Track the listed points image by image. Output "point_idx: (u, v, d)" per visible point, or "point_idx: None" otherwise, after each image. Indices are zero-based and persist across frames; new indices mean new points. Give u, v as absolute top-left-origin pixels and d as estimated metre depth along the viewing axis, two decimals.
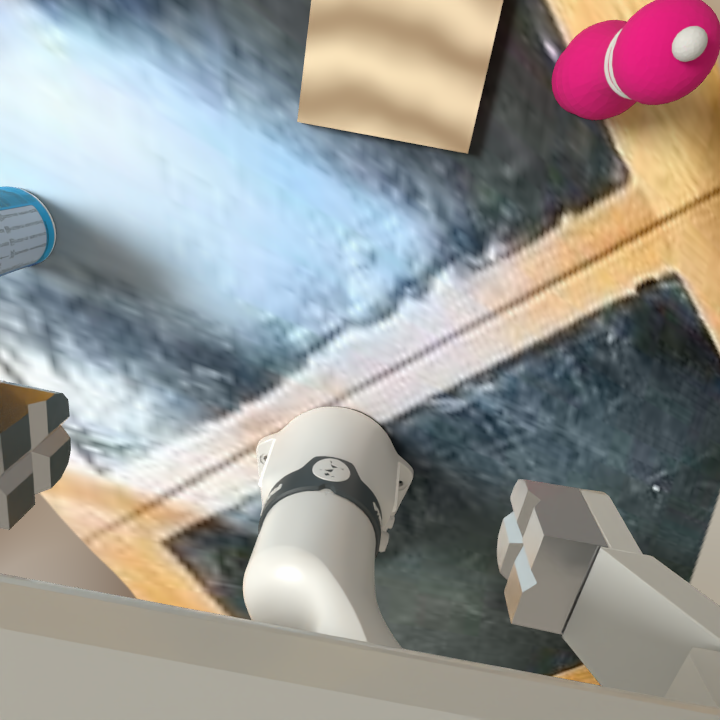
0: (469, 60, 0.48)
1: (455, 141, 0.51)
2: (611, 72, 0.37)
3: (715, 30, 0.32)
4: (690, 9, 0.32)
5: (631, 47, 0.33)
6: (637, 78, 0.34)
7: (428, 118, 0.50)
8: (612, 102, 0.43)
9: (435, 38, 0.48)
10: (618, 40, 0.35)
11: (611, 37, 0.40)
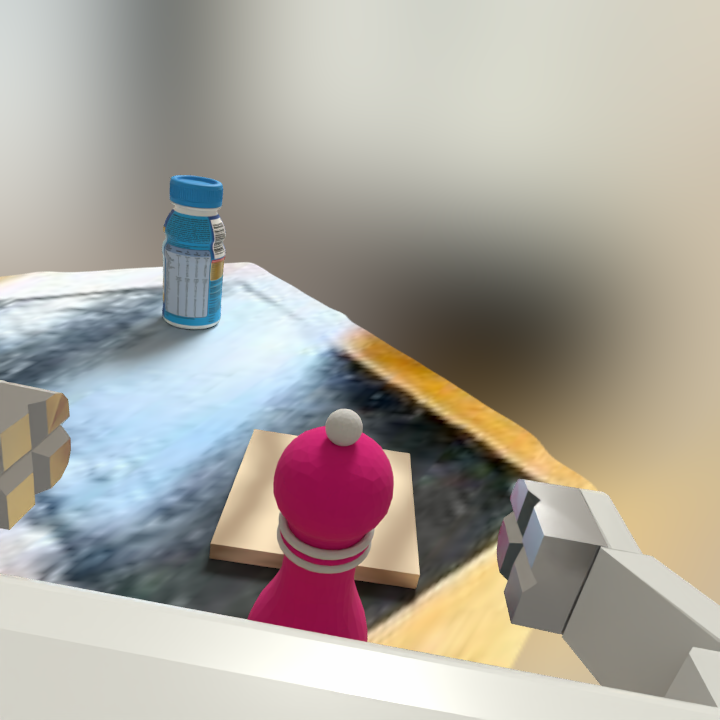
0: None
1: (225, 532, 0.43)
2: None
3: (362, 475, 0.25)
4: (379, 452, 0.27)
5: None
6: (304, 432, 0.28)
7: (252, 510, 0.45)
8: (269, 593, 0.31)
9: None
10: None
11: None
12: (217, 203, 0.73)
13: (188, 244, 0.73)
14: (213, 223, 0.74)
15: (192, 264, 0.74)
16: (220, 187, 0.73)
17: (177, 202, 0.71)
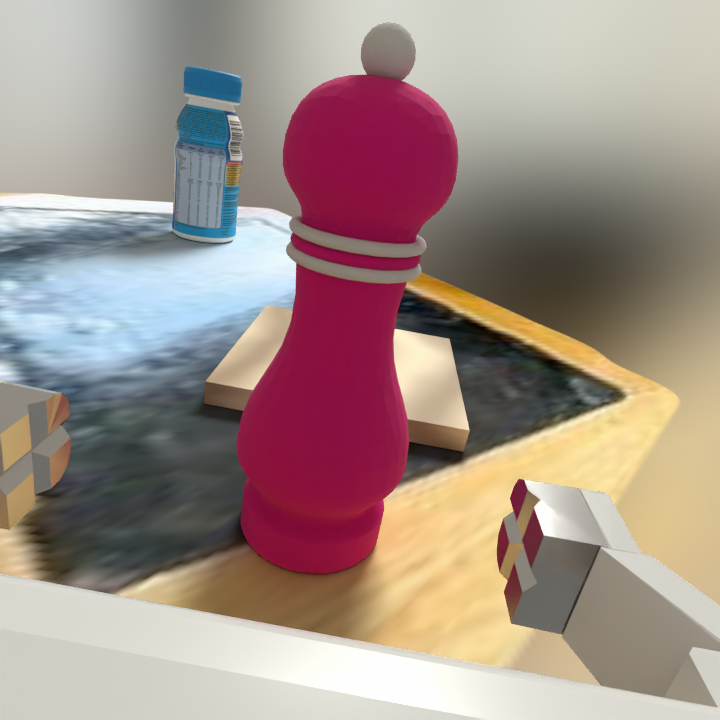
0: None
1: (225, 374, 0.34)
2: None
3: (416, 101, 0.17)
4: None
5: None
6: None
7: (259, 361, 0.37)
8: (274, 359, 0.22)
9: None
10: None
11: None
12: (234, 96, 0.66)
13: (202, 140, 0.66)
14: (229, 119, 0.67)
15: (206, 164, 0.67)
16: (239, 79, 0.66)
17: (191, 92, 0.65)
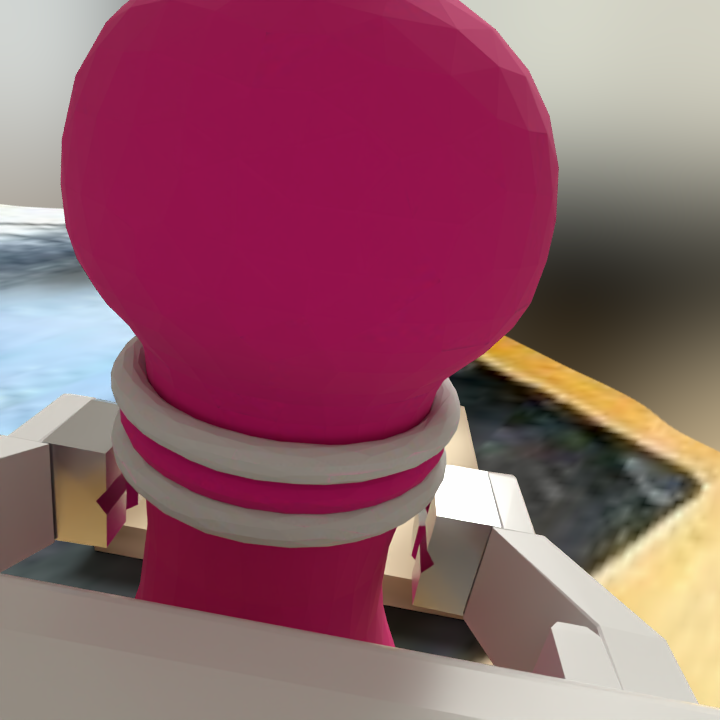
0: None
1: None
2: None
3: (448, 23, 0.05)
4: None
5: None
6: None
7: None
8: None
9: None
10: None
11: None
12: None
13: None
14: None
15: None
16: None
17: None
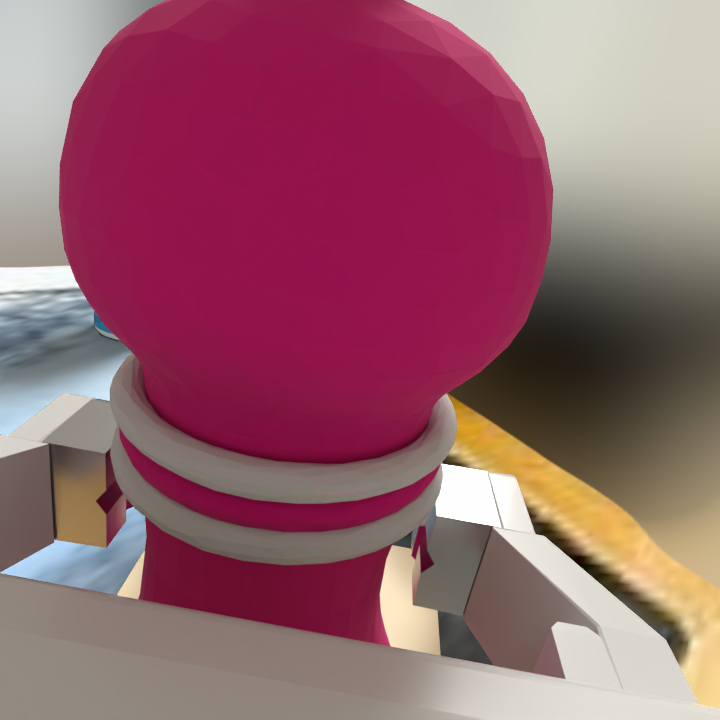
0: None
1: None
2: None
3: (442, 52, 0.05)
4: None
5: None
6: None
7: None
8: None
9: None
10: None
11: None
12: None
13: None
14: None
15: None
16: None
17: None
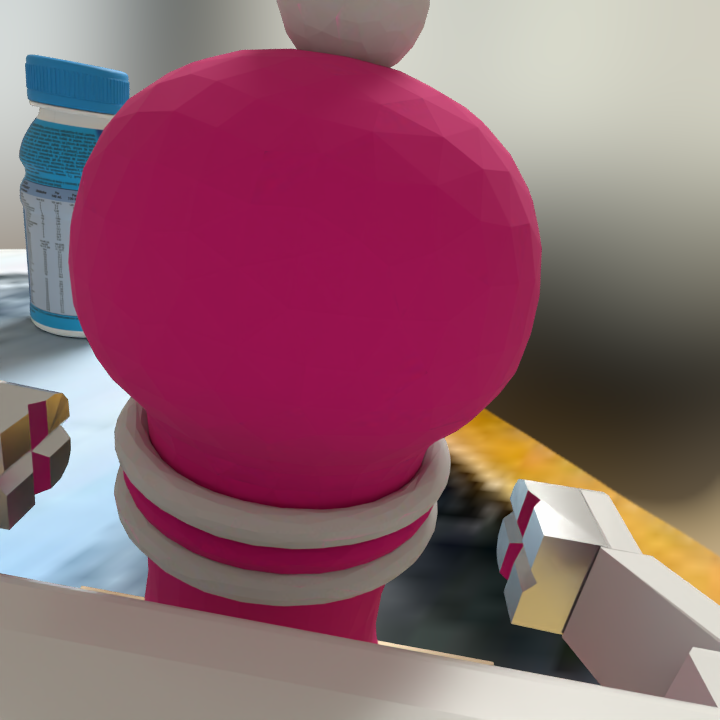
0: None
1: None
2: None
3: (435, 130, 0.05)
4: None
5: None
6: None
7: None
8: None
9: None
10: None
11: None
12: (113, 106, 0.40)
13: (58, 178, 0.39)
14: None
15: (67, 218, 0.40)
16: (120, 76, 0.40)
17: (35, 98, 0.38)
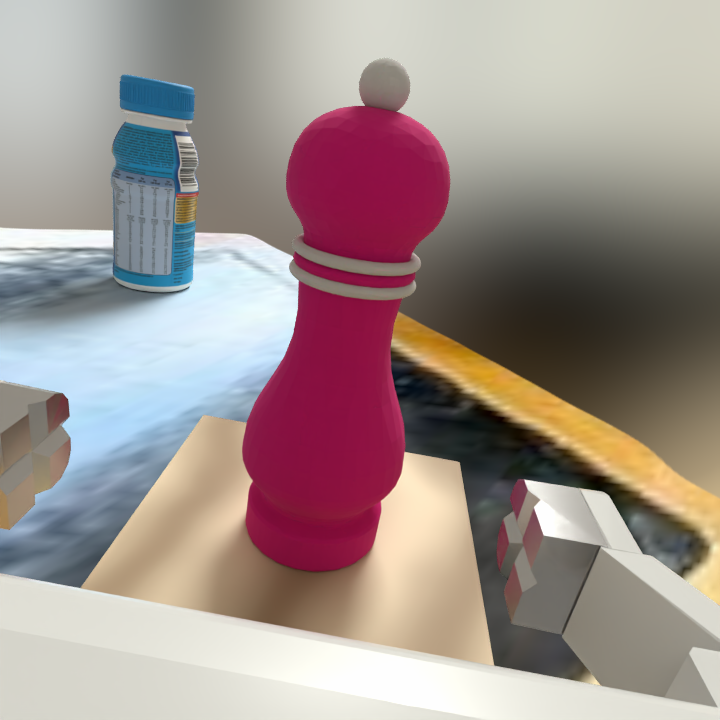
0: None
1: None
2: None
3: (410, 133, 0.18)
4: None
5: None
6: None
7: (162, 557, 0.23)
8: (277, 369, 0.23)
9: None
10: None
11: None
12: (184, 112, 0.53)
13: (143, 167, 0.52)
14: (178, 141, 0.53)
15: (149, 197, 0.53)
16: (189, 90, 0.53)
17: (128, 107, 0.51)
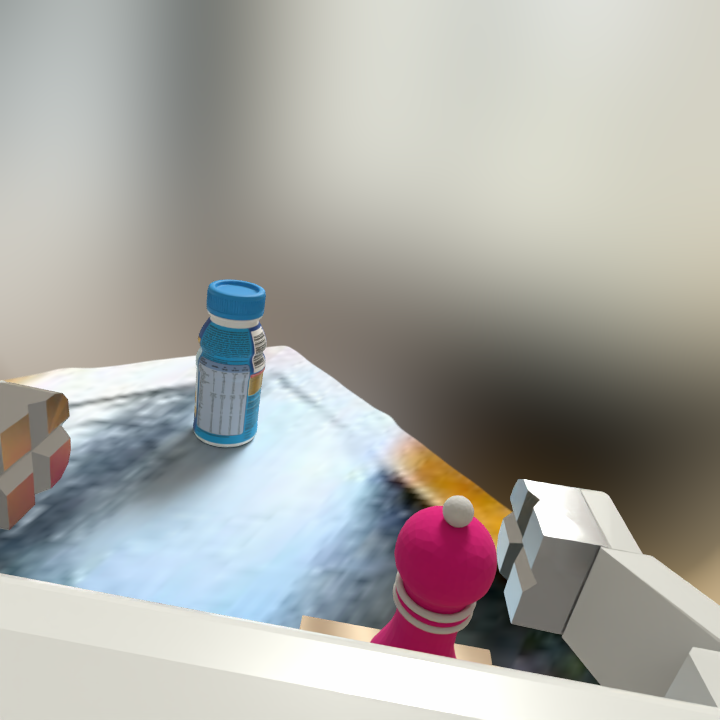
0: None
1: None
2: None
3: (476, 553, 0.31)
4: (485, 532, 0.32)
5: None
6: None
7: None
8: None
9: None
10: None
11: None
12: (258, 314, 0.65)
13: (226, 359, 0.65)
14: (253, 335, 0.66)
15: (229, 381, 0.66)
16: (263, 296, 0.65)
17: (215, 314, 0.64)
